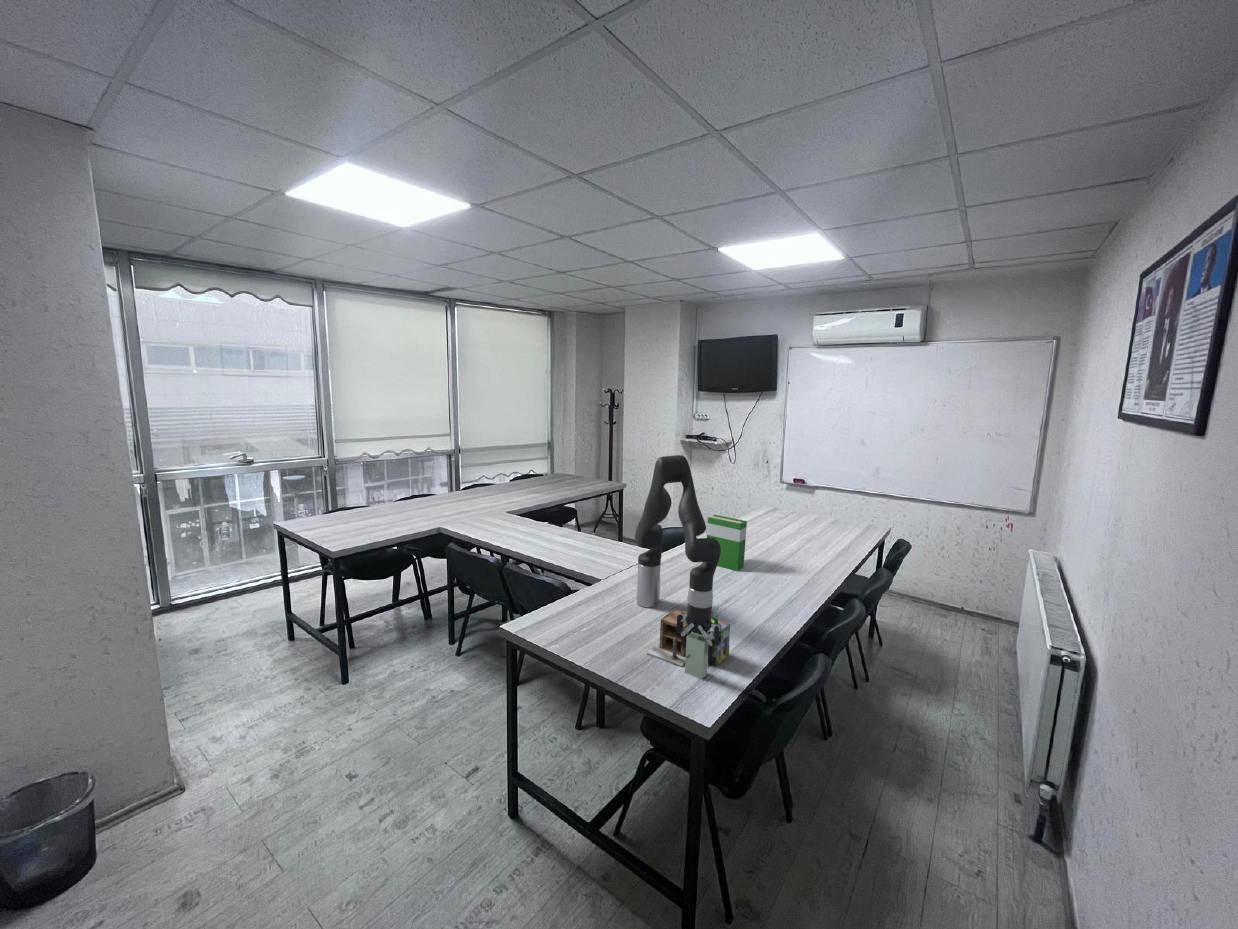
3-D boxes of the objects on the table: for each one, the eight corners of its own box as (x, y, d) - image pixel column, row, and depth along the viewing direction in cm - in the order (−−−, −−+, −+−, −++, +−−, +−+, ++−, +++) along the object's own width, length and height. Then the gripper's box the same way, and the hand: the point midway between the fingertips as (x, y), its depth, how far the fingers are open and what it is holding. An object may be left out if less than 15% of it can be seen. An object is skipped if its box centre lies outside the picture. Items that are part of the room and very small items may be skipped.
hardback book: (705, 562, 253) (707, 517, 249) (711, 559, 258) (714, 514, 255) (737, 571, 242) (740, 524, 238) (743, 567, 248) (746, 521, 244)
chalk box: (729, 656, 165) (732, 614, 163) (715, 667, 158) (718, 624, 156) (705, 646, 171) (707, 606, 169) (691, 657, 164) (693, 615, 162)
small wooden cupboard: (668, 636, 177) (669, 607, 176) (701, 647, 170) (703, 617, 168) (646, 654, 165) (648, 623, 163) (681, 667, 158) (683, 635, 156)
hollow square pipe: (689, 666, 158) (691, 632, 156) (707, 673, 155) (709, 637, 153) (683, 673, 155) (685, 637, 153) (701, 680, 151) (703, 643, 149)
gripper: (726, 603, 150) (723, 653, 153) (684, 591, 158) (682, 639, 161) (716, 612, 144) (713, 663, 147) (673, 599, 152) (671, 648, 155)
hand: (697, 651), depth 154 cm, fingers open, 8 cm apart
